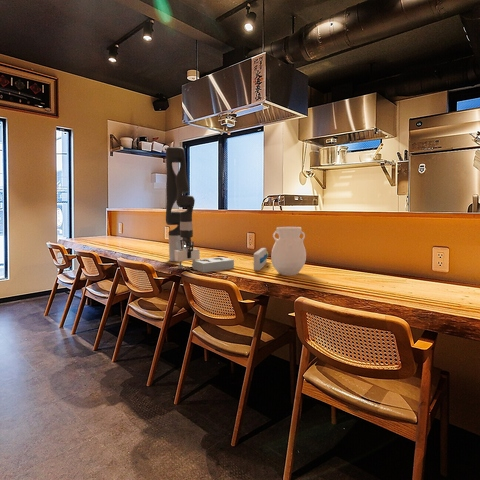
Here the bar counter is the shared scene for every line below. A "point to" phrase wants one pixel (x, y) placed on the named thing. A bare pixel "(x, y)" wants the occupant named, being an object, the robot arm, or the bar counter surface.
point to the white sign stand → (182, 255)
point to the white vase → (288, 250)
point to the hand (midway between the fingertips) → (187, 257)
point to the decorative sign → (260, 258)
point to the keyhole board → (213, 264)
